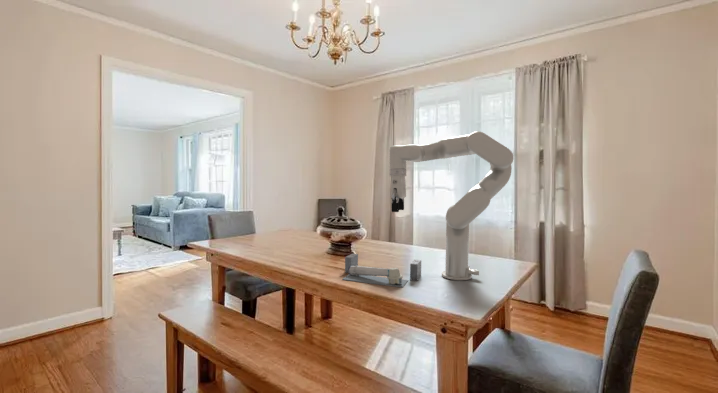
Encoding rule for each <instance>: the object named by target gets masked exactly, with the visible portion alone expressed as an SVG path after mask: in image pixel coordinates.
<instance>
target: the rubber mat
mask: <svg viewBox="0 0 718 393" xmlns="http://www.w3.org/2000/svg"><path fill="white" fill-rule="evenodd" d="M341 280H342V281H348V282H349V281H350V282H355V283H365V284H372V285H379V286H387V287H395V288H396V287H397V288H404V286H405V285H406V284H407V283H409V280H408V279H403V278H402V283H400V284H397V283H395V284H391V283H390V284H389V280H388V279H387V276H364V275H358V276H356V275H350V274H349V273H348V275H346V276H344V277H343V278H342V279H341Z"/></svg>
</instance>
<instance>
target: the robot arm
mask: <svg viewBox="0 0 718 393" xmlns="http://www.w3.org/2000/svg"><path fill="white" fill-rule="evenodd" d="M471 155H477V156H478V157H479V158H481V159H483V160H484V161H486V162H487V163H489V166H490V169H489V171H488V172H487V173H486V174H485V175H484V176H483V178H482V179H480V181H478V183H476V184H475V185H474V186H473V187H471V188H470V189H468V190H467V191H466V193H465V194H464V195H463V196H462V197H461V198H460V199H459V200H458V201H457V202H456V203H455V204H452V205H451V206H449V208H447V211H446V213H445V222H446V223H445V224H446V225H445V226H446V228H445V232H446V233H445V235H446V236H445V268H444V269H445V270H443V271H441V276H442V277H443V278H445V279H447V280H451V281H468V280H471V279H472V277H473V276H472V275H474V276H480V271H479V270H477V269H471V268H470V266H469V249H470V248H469V244H470V224H471V223H472V222H473V221H474V220H476V219H477V217H479V216H480V215H481V214H482V213H483V212H484V211H485V210H487V208H488V206H490V202H491V201H492V199H493V198H494V197H495V196H496V195H497V194H498V193H499V192H500V191H501V190H502V189H503V188H504V187H505V186H506V185H507V184H508V183H509V180H510V179H511V175H512V171H513V170H512V163H513V162H514V153H513V152H512V150H511V149H509V147H507V146H505V145H504V144H502V143H500V141H497V140H495V138H493V137H491V136H489V135H488V134H486V133H484V132H483V131H479V130H476V131H473V132H471V133H470V134H464V135H459V136H450V137H446V138H443V139H441V140H439V141H437V142H432V143H428V144H421V145H419V144H415V143H413V144H412V143H411V144H406V145H401V144H398V145H397V144H396V145H391V146H390V147H389V177H391V181H390V197H391V202H390V203H391V212H392V213H399V212H400V211H404V210H405V198H406V197H407V188H406V186H407V185H406V182H407V181H406V177H407V162H414V163H421V162H428V161H435V160H442V159H443V160H445V159H450V158H457V157H462V156H471Z"/></svg>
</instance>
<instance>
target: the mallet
mask: <svg viewBox="0 0 718 393" xmlns="http://www.w3.org/2000/svg"><path fill="white" fill-rule="evenodd" d="M347 274H348V275H349V274H350V275H356V276H358V275H364V276H377V277H386V278H387V279H388V280H389V284H390V283H391V284H395V283H397V284H400V283H402V279H403V275H402V274H401V272H400V269H399V268H398V267H391V268H383V267H373V266H372V267H371V266H361V265H359V264H358V265H357V266H350V267H349V268H348V273H347Z"/></svg>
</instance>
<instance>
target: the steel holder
mask: <svg viewBox="0 0 718 393" xmlns="http://www.w3.org/2000/svg"><path fill="white" fill-rule="evenodd" d="M357 265H358V266H359V254H358V253H351V254H349V255H346V256H345V257H344V273H345V274H349V273H348V268H349V267H350V266H357ZM409 268H410V269H409V280H410V281H412V282H413V281H414V282H418V280H420V278H421V277H422V259H413V261H412V262H410V264H409Z"/></svg>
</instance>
